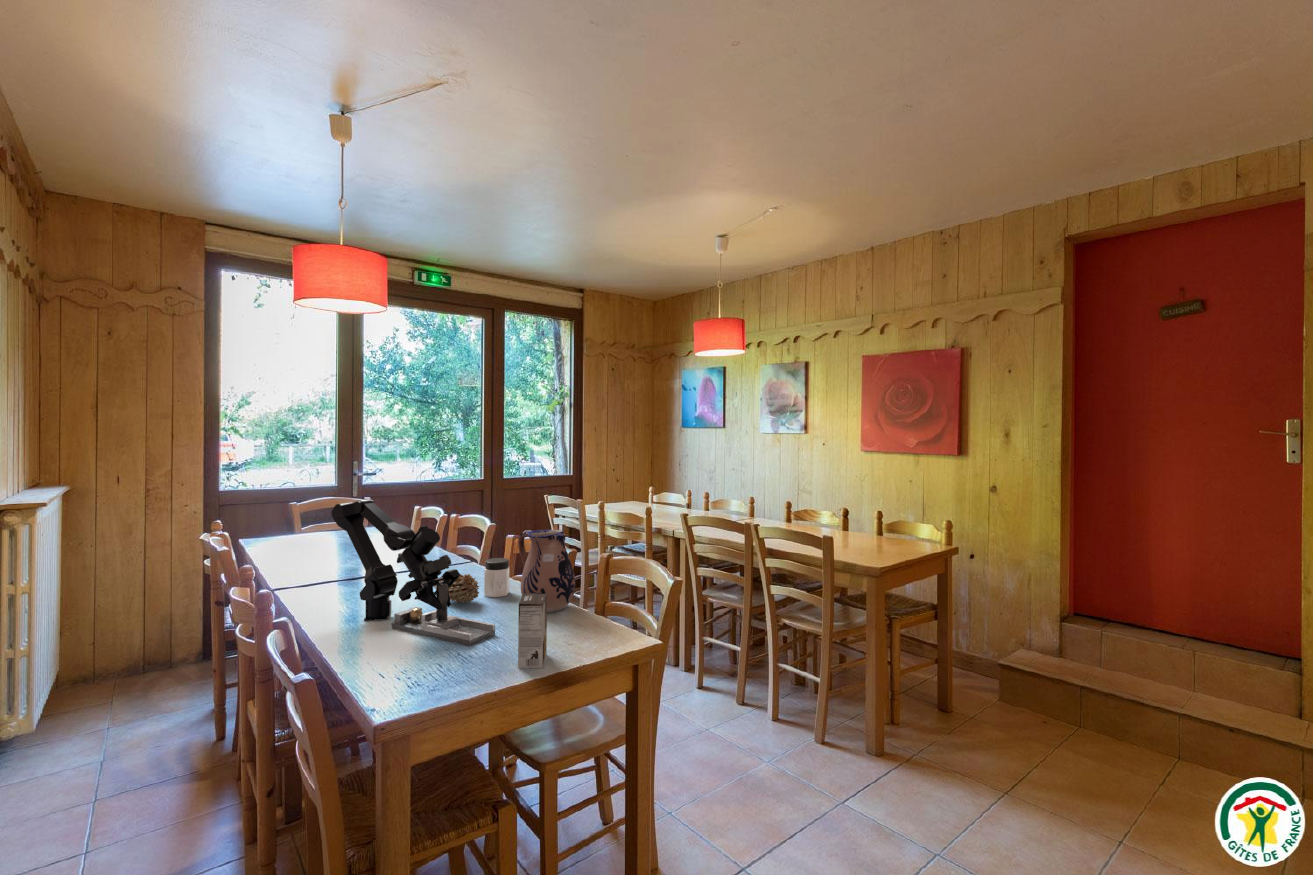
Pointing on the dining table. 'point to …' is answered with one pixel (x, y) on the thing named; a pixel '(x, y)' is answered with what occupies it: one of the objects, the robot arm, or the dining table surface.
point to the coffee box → (532, 630)
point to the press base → (462, 633)
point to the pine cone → (464, 589)
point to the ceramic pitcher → (547, 568)
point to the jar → (496, 577)
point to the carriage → (440, 616)
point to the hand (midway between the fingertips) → (445, 607)
